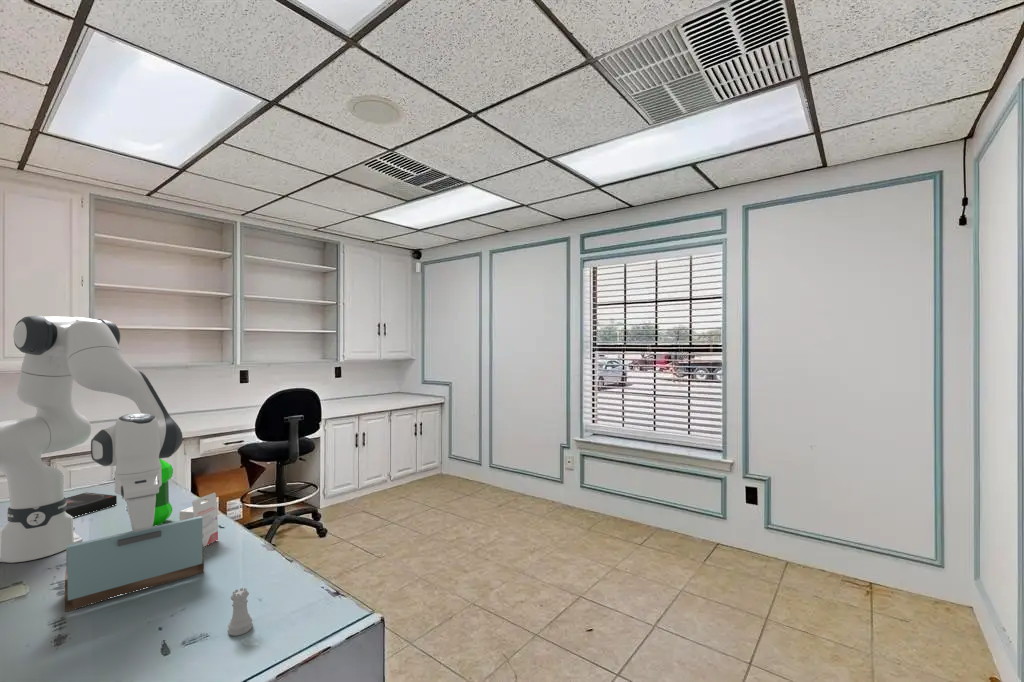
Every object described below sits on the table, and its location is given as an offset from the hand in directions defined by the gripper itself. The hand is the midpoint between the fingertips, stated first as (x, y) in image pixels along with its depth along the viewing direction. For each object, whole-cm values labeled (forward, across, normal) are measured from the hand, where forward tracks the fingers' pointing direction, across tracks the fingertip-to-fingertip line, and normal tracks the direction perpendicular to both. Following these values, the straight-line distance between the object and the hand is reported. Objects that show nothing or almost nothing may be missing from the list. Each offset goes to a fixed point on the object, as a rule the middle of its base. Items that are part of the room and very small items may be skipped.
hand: (139, 539), depth 113 cm
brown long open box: (+12, -6, 0) cm, 13 cm away
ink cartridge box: (+12, -20, +15) cm, 27 cm away
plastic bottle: (+12, -52, +7) cm, 53 cm away
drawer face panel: (+9, +1, 0) cm, 9 cm away
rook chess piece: (+13, +35, +14) cm, 40 cm away
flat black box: (+12, -89, -13) cm, 90 cm away
